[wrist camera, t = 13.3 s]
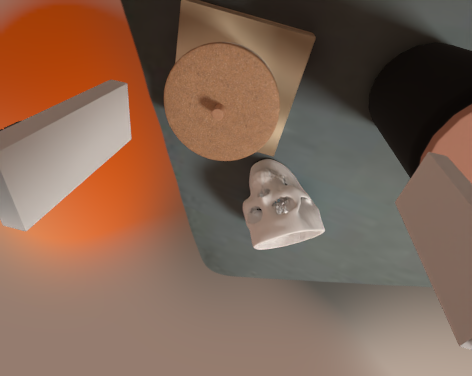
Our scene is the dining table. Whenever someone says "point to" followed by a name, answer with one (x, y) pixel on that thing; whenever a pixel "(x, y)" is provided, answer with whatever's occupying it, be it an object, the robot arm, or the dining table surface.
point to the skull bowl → (279, 208)
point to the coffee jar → (426, 105)
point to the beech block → (250, 47)
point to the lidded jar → (222, 101)
